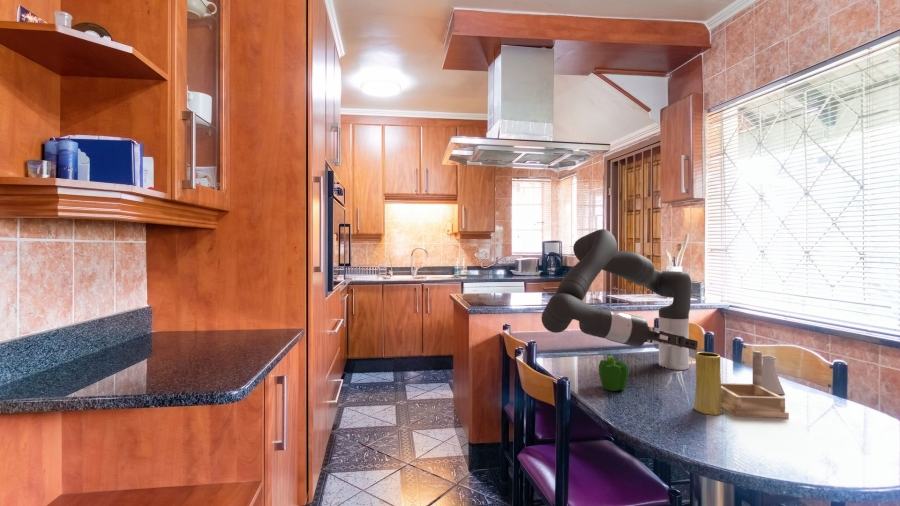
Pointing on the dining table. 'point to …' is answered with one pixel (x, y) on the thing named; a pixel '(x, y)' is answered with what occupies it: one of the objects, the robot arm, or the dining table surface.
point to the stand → (752, 396)
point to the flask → (770, 376)
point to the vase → (708, 384)
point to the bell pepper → (613, 374)
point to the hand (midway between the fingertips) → (685, 343)
